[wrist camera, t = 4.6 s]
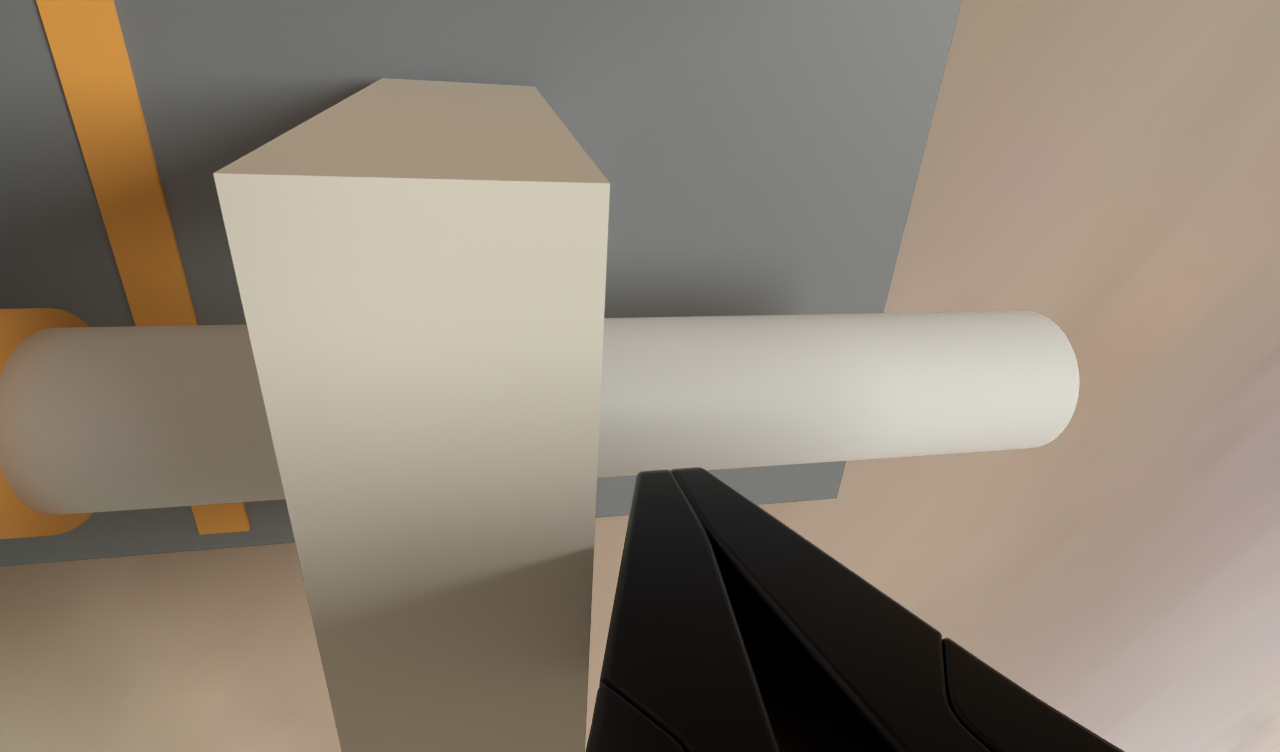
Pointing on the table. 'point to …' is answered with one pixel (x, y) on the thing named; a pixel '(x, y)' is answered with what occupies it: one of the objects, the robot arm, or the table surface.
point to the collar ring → (434, 403)
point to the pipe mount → (636, 250)
